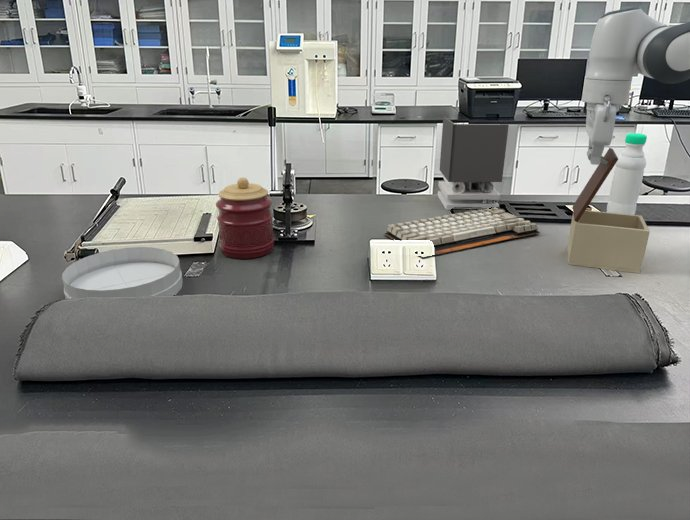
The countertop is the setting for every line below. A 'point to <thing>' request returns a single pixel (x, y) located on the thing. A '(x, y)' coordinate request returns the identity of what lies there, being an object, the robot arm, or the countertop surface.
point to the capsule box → (608, 241)
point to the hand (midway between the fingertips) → (593, 159)
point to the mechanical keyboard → (464, 229)
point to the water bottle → (628, 176)
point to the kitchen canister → (245, 220)
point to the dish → (124, 274)
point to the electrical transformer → (471, 164)
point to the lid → (594, 182)
